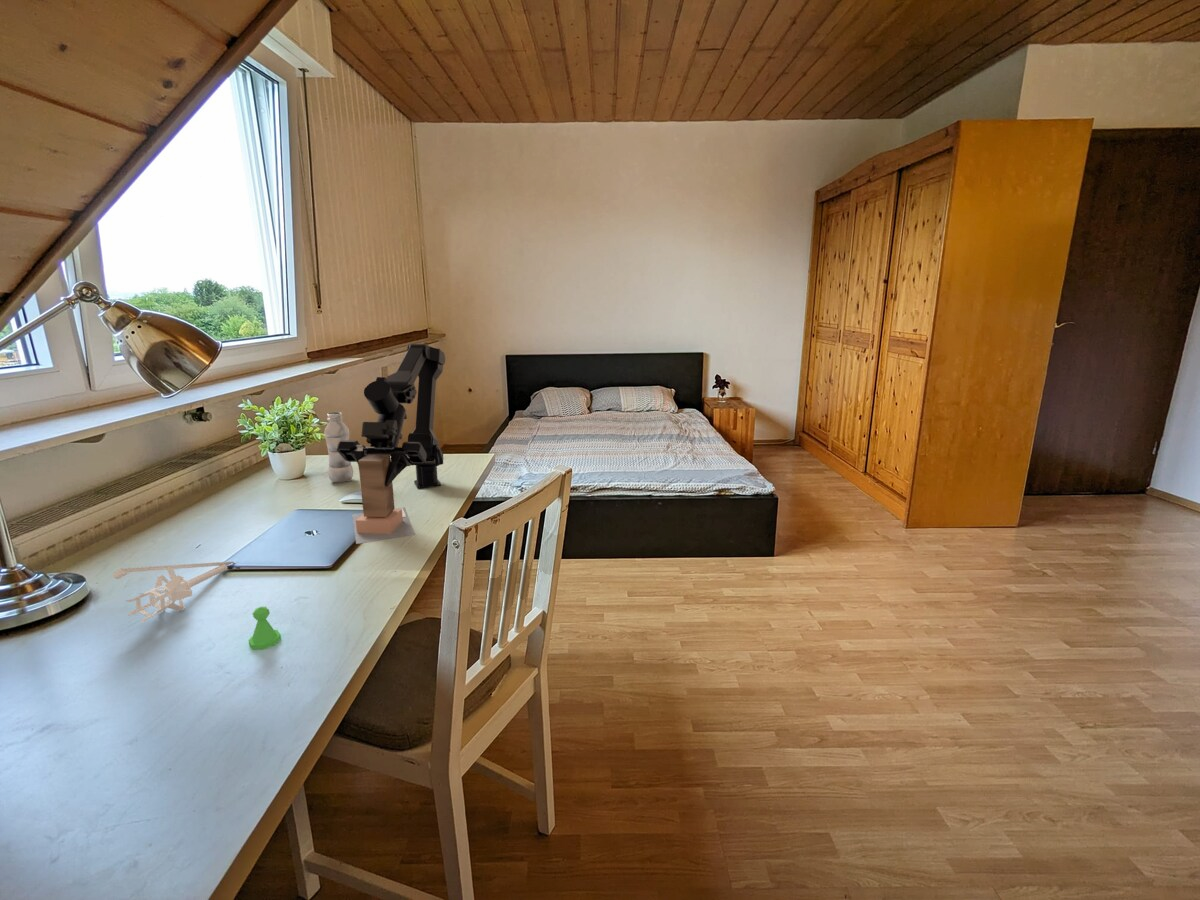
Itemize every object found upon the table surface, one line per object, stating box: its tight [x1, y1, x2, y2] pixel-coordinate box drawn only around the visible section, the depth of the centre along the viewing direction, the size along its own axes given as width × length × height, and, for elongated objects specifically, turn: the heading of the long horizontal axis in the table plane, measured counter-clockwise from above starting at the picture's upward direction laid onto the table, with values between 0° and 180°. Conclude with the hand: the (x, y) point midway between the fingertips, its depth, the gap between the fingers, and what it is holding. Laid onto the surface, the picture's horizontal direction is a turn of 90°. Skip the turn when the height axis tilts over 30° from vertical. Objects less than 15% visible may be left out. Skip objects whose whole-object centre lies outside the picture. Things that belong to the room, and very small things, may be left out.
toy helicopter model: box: [112, 561, 235, 624], centre depth 98 cm, size 6×9×25 cm
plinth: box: [356, 508, 403, 534], centre depth 126 cm, size 8×8×3 cm
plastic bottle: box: [323, 411, 354, 483], centre depth 157 cm, size 6×7×20 cm
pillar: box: [357, 454, 396, 517], centre depth 124 cm, size 5×5×13 cm
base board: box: [351, 507, 416, 545], centre depth 128 cm, size 18×12×1 cm, turn 26°
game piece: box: [248, 606, 282, 650], centre depth 85 cm, size 4×4×6 cm
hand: (374, 485), depth 123 cm, fingers closed on pillar, 5 cm apart
